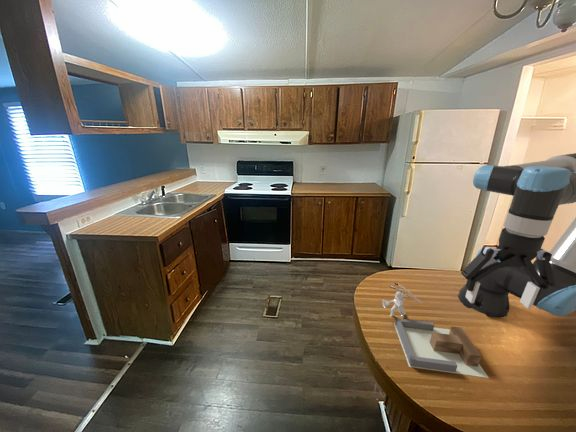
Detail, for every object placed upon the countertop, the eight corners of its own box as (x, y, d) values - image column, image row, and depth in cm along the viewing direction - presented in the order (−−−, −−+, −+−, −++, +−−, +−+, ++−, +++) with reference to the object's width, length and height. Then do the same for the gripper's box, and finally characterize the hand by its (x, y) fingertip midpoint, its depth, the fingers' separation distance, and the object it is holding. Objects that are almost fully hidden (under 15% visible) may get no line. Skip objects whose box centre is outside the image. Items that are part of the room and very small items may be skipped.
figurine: (408, 320, 82) (415, 292, 78) (387, 326, 79) (393, 298, 75) (398, 310, 86) (404, 284, 82) (378, 316, 83) (383, 289, 79)
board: (456, 332, 76) (458, 324, 75) (487, 380, 62) (491, 371, 60) (393, 325, 79) (394, 317, 78) (408, 369, 65) (410, 360, 63)
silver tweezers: (388, 287, 100) (389, 283, 99) (395, 284, 102) (397, 280, 101) (427, 315, 86) (428, 311, 85) (434, 311, 88) (436, 307, 87)
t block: (458, 337, 73) (461, 327, 72) (477, 366, 64) (481, 356, 63) (425, 333, 75) (427, 323, 74) (438, 361, 66) (442, 351, 64)
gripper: (568, 228, 57) (537, 297, 64) (458, 223, 61) (441, 289, 68) (601, 241, 50) (563, 317, 57) (475, 234, 54) (454, 307, 61)
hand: (496, 302), depth 63 cm, fingers open, 13 cm apart
